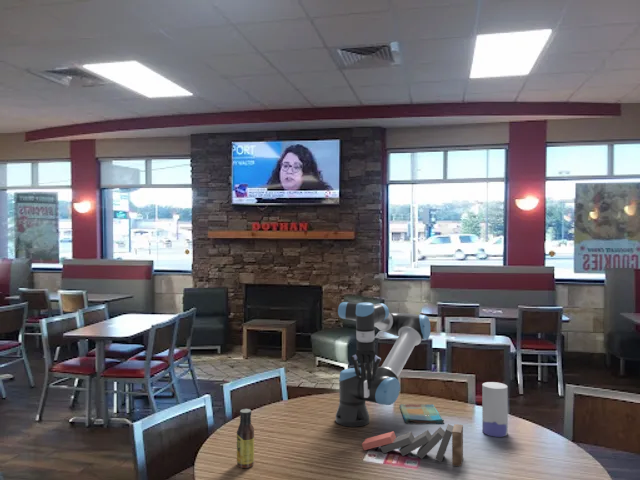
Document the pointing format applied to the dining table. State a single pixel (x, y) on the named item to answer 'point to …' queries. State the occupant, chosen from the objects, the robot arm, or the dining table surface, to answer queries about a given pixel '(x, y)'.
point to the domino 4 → (444, 443)
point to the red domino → (379, 440)
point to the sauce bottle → (245, 440)
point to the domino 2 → (416, 443)
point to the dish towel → (420, 413)
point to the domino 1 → (398, 442)
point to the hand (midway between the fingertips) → (366, 396)
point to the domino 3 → (431, 443)
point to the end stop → (457, 445)
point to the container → (495, 409)
